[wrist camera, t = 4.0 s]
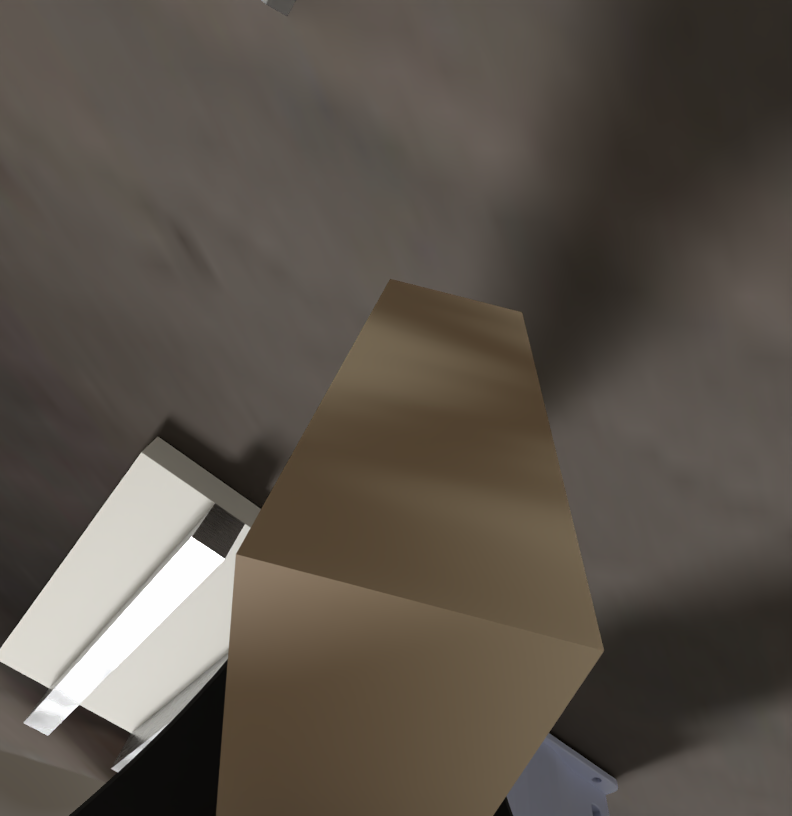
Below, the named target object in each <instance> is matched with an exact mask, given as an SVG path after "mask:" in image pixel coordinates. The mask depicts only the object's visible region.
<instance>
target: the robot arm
mask: <svg viewBox="0 0 792 816" xmlns="http://www.w3.org/2000/svg"><path fill="white" fill-rule="evenodd" d="M227 664H228V659H227V660H226V662H225V663H224V664H223V665H222V666H221V668H220V669H219V670H218V671H217V672H216V673H215V675H214V676H213V677H212V678H211V679H210V680H209V681H208V682H207V683H206V684H205V685H204V687H203V688H202V689H201V690H200V691H199V692H198V693H197V694H196V695H195V696H194V697H193V699H192V700H191V701H190V702H189V703H188V704H187V705H186V706H185V707H184V708H183V709H182V710H181V712H180V713H179V714H178V715H177V716H176V717H175V718H174V719H173V720H172V721H171V722H170V723H169V724H168V725H167V726H166V727H165V728H164V729H163V730H162V731H161V732H160V733H159V734H158V735H157V736H156V737H155V738H154V739H153V740H152V741H151V742H150V743H149V744H148V745H147V746H146V747H144V748H143V749H142V750H141V751H140V752H139V753H138V754H137V755H136V756H135V757H134V758H133V759H132V760H131V761H130V762H129V763H128V764H127V765H125V766H124V767H123V768H122V769H121V770H120V771H119V772H118V773H117V774H116V775H114V776H113V777H112V778H111V779H110V780H109V781H108V782H107V783H106V784H105V785H103V786H102V787H101V788H100V789H99V790H98V791H97V792H96V793H95V794H93V795H92V796H91V797H90V798H89V799H88V800H87V801H85V802H84V803H83V804H82V805H81V806H80V807H78V808H77V809H76V810H75V811H74V812H73V813H72V814H70V815H69V816H216V808H217V795H218V782H219V769H220V756H221V743H222V729H223V716H224V703H225V690H226V677H227ZM617 789H618V785H617V780H616V779H615V778H613V777H612V776H611V775H609V774H608V773H606V772H605V771H603V770H602V769H600V768H599V767H597V766H596V765H595V764H593V763H592V762H590V761H589V760H587V759H586V758H584V757H583V756H582V755H580V754H579V753H577V752H576V751H574V750H573V749H571V748H570V747H568V746H567V745H566V744H564V743H563V742H561V741H560V740H558V739H557V738H555V737H554V736H553V735H551V734H550V733H548V735H547V736H546V738H545V739H544V741H543V742H542V744H541V745H540V747H539V748H538V750H537V751H536V753H535V754H534V756H533V757H532V759H531V760H530V762H529V763H528V765H527V766H526V768H525V769H524V770H523V772H522V773H521V775H520V776H519V778H518V779H517V781H516V782H515V784H514V785H513V787H512V788H511V790H510V791H509V793H508V794H507V796H506V797H505V799H504V800H503V802H502V803H501V805H500V806H499V808H498V809H497V811H496V812H495V814H494V815H493V816H609V810H608V805H607V800H606V795H607V794H610V793H613V792H615V791H617Z"/></svg>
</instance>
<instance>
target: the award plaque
mask: <svg viewBox="0 0 792 816" xmlns="http://www.w3.org/2000/svg"><path fill="white" fill-rule="evenodd" d="M262 1H263V2H264V3H265V4H266V5H268V6H270V7H271V8H273V9H275V10H277V11H278V12H280V13H282V14H284V15H286V16H288V14H289V12H290V10H291V9H292V7H293V5H294V3H295V1H296V0H262Z"/></svg>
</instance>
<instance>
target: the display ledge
mask: <svg viewBox="0 0 792 816" xmlns="http://www.w3.org/2000/svg"><path fill="white" fill-rule="evenodd" d="M260 510H261V509H260V508H259V507H257V506H256V505H255V504H253V503H252V502H250V501H249V500H248V499H246V498H245V497H243V496H242V495H240V494H239V493H238V492H236V491H235V490H233V489H232V488H230V487H229V486H228V485H226V484H225V483H223V482H222V481H221V480H219V479H218V478H216V477H215V476H213V475H212V474H211V473H209V472H208V471H206V470H205V469H203V468H202V467H201V466H199V465H198V464H196V463H195V462H194V461H192V460H191V459H189V458H188V457H186V456H185V455H184V454H182V453H181V452H179V451H178V450H176V449H175V448H174V447H172V446H171V445H169V444H168V443H167V442H165V441H164V440H162V439H161V438H159V437H157V438H155V439H154V440H153V441H152V442H151V443H150V444H149V445H148V446H147V447H146V448H145V449H144V450H143V451H142V452H141V454H140V455H139V456H138V458H137V459H136V461H135V462H134V463H133V465H132V466H131V468H130V469H129V470H128V472H127V473H126V474H125V476H124V477H123V479H122V480H121V481H120V483H119V484H118V486H117V487H116V488H115V490H114V491H113V493H112V494H111V495H110V497H109V498H108V500H107V501H106V502H105V504H104V505H103V507H102V508H101V509H100V511H99V512H98V513H97V515H96V516H95V518H94V519H93V520H92V522H91V523H90V525H89V526H88V527H87V529H86V530H85V532H84V533H83V534H82V536H81V537H80V539H79V540H78V541H77V543H76V544H75V546H74V547H73V548H72V550H71V551H70V552H69V554H68V555H67V557H66V558H65V559H64V561H63V562H62V564H61V565H60V566H59V568H58V569H57V571H56V572H55V573H54V575H53V576H52V578H51V579H50V580H49V582H48V583H47V584H46V586H45V587H44V589H43V590H42V591H41V593H40V594H39V596H38V597H37V598H36V600H35V601H34V603H33V604H32V605H31V607H30V608H29V610H28V611H27V612H26V614H25V615H24V617H23V618H22V619H21V621H20V622H19V623H18V625H17V626H16V628H15V629H14V630H13V632H12V633H11V635H10V636H9V637H8V639H7V640H6V642H5V643H4V644H3V646H2V647H1V649H0V662H2V663H4V664H6V665H8V666H10V667H11V668H13V669H15V670H17V671H19V672H21V673H22V674H24V675H26V676H28V677H30V678H32V679H33V680H35V681H37V682H39V683H41V684H43V685H44V686H46V687H48V688H49V690H48V691H47V692H46V694H45V695H44V696H43V697H42V699H41V700H40V701H39V703H38V704H37V705H36V707H35V708H34V709H33V711H32V712H31V713H30V715H29V716H28V717H27V719H26V720H25V721H24V723H25V724H26V725H28V726H30V727H32V728H34V729H36V730H38V731H40V732H42V733H44V734H46V735H47V736H48V735H49V734H50V733H51V732H52V731H53V730H54V729H55V728H56V727H57V726H58V725H59V724H60V723H61V722H62V721H63V720H64V719H65V718H66V717H67V716H68V715H69V714H70V713H71V712H72V711H73V710H74V709H75V708H76V707H77V706H78V705H81V706H83V707H85V708H86V709H88V710H90V711H92V712H94V713H96V714H97V715H99V716H101V717H103V718H105V719H107V720H108V721H110V722H112V723H114V724H116V725H118V726H119V727H121V728H123V729H125V730H127V731H129V732H130V733H131V734H130V736H129V738H128V740H127V741H126V743H125V745H124V747H123V748H122V750H121V752H120V754H119V756H118V757H117V759H116V761H115V763H114V764H113V766H112V768H111V769H112V770H114V771H116V772H119V771H120V770H121V769H122V768H123V767H124V766H125V765H127V764H128V763H129V762H130V761H131V760H132V759H133V758H134V757H135V756H136V755H137V754H138V753H139V752H140V751H141V750H142V749H143V748H144V747H146V746H147V745H148V744H149V743H150V742H151V741H152V740H153V739H154V738H155V737H156V736H157V735H158V734H159V733H160V732H161V731H162V730H163V729H164V728H165V727H166V726H167V725H168V724H169V723H170V722H171V721H172V720H173V719H174V718H175V717H176V716H177V715H178V714H179V713H180V712H181V710H182V709H183V708H184V707H185V706H186V705H187V704H188V703H189V702H190V701H191V700H192V699H193V697H194V696H195V695H196V694H197V693H198V692H199V691H200V690H201V689H202V688H203V687H204V685H205V684H206V683H207V682H208V681H209V680H210V679H211V678H212V677H213V676H214V675H215V673H216V672H217V671H218V670H219V669H220V668H221V666H222V665H223V664H224V663H225V662H226V660H227V659H228V651H229V637H230V624H231V611H232V598H233V585H234V572H235V559H236V553H237V551H238V549H239V548H240V546H241V544H242V542H243V541H244V539H245V537H246V535H247V533H248V532H249V530H250V528H251V526H252V524H253V523H254V521H255V519H256V517H257V516H258V514H259V512H260Z"/></svg>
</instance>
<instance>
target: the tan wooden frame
mask: <svg viewBox="0 0 792 816" xmlns="http://www.w3.org/2000/svg"><path fill="white" fill-rule="evenodd" d="M603 652H604V648H603V644H602V640H601V636H600V632H599V627H598V623H597V619H596V615H595V611H594V607H593V603H592V599H591V595H590V590H589V586H588V582H587V578H586V574H585V570H584V566H583V562H582V557H581V553H580V549H579V545H578V541H577V537H576V533H575V529H574V524H573V520H572V516H571V512H570V508H569V504H568V500H567V496H566V491H565V487H564V483H563V479H562V475H561V471H560V467H559V463H558V458H557V454H556V450H555V446H554V442H553V438H552V434H551V430H550V425H549V421H548V417H547V413H546V409H545V405H544V401H543V397H542V392H541V388H540V384H539V380H538V376H537V372H536V368H535V364H534V359H533V355H532V351H531V347H530V343H529V339H528V335H527V331H526V326H525V322H524V318H523V314H522V312H519V311H515V310H511V309H507V308H503V307H499V306H495V305H491V304H487V303H483V302H479V301H475V300H471V299H468V298H464V297H460V296H456V295H452V294H448V293H444V292H440V291H436V290H432V289H428V288H424V287H420V286H416V285H412V284H408V283H404V282H400V281H396V280H392V279H390V280H389V282H388V284H387V286H386V287H385V289H384V291H383V293H382V295H381V296H380V298H379V300H378V302H377V303H376V305H375V307H374V309H373V311H372V312H371V314H370V316H369V318H368V319H367V321H366V323H365V325H364V327H363V328H362V330H361V332H360V334H359V336H358V337H357V339H356V341H355V343H354V344H353V346H352V348H351V350H350V352H349V353H348V355H347V357H346V359H345V360H344V362H343V364H342V366H341V368H340V369H339V371H338V373H337V375H336V377H335V378H334V380H333V382H332V384H331V385H330V387H329V389H328V391H327V393H326V394H325V396H324V398H323V400H322V401H321V403H320V405H319V407H318V409H317V410H316V412H315V414H314V416H313V418H312V419H311V421H310V423H309V425H308V426H307V428H306V430H305V432H304V434H303V435H302V437H301V439H300V441H299V442H298V444H297V446H296V448H295V450H294V451H293V453H292V455H291V457H290V459H289V460H288V462H287V464H286V466H285V467H284V469H283V471H282V473H281V475H280V476H279V478H278V480H277V482H276V483H275V485H274V487H273V489H272V491H271V492H270V494H269V496H268V498H267V500H266V501H265V503H264V505H263V507H262V508H261V510H260V512H259V514H258V516H257V517H256V519H255V521H254V523H253V524H252V526H251V528H250V530H249V532H248V533H247V535H246V537H245V539H244V541H243V542H242V544H241V546H240V548H239V549H238V551H237V553H236V559H235V572H234V585H233V598H232V611H231V624H230V637H229V651H228V664H227V677H226V690H225V703H224V716H223V729H222V743H221V756H220V769H219V782H218V795H217V808H216V816H493V815H494V814H495V812H496V811H497V809H498V808H499V806H500V805H501V803H502V802H503V800H504V799H505V797H506V796H507V794H508V793H509V791H510V790H511V788H512V787H513V785H514V784H515V782H516V781H517V779H518V778H519V776H520V775H521V773H522V772H523V770H524V769H525V768H526V766H527V765H528V763H529V762H530V760H531V759H532V757H533V756H534V754H535V753H536V751H537V750H538V748H539V747H540V745H541V744H542V742H543V741H544V739H545V738H546V736H547V735H548V733H549V732H550V730H551V729H552V727H553V726H554V724H555V723H556V721H557V720H558V718H559V717H560V716H561V714H562V713H563V711H564V710H565V708H566V707H567V705H568V704H569V702H570V701H571V699H572V698H573V696H574V695H575V693H576V692H577V690H578V689H579V687H580V686H581V684H582V683H583V681H584V680H585V678H586V677H587V675H588V674H589V672H590V671H591V669H592V668H593V667H594V665H595V664H596V662H597V661H598V659H599V658H600V656H601V655H602V653H603Z"/></svg>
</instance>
